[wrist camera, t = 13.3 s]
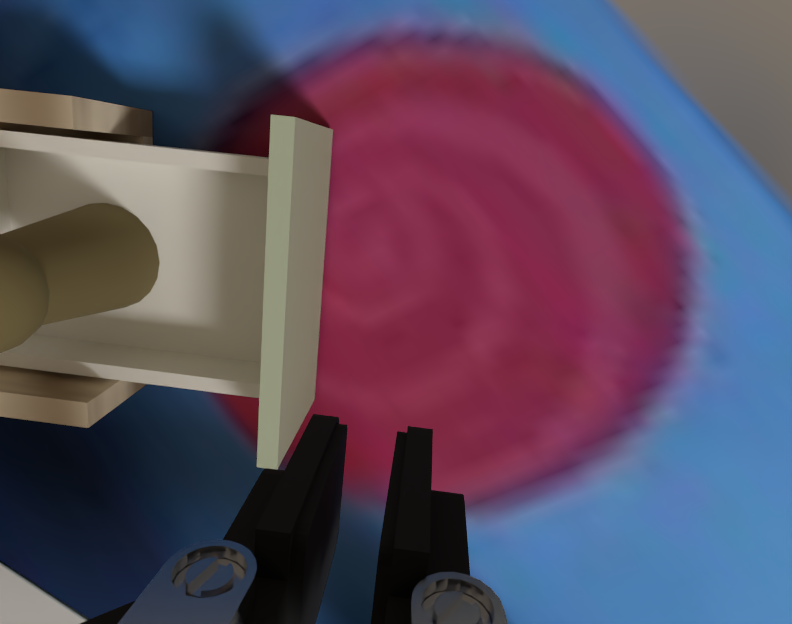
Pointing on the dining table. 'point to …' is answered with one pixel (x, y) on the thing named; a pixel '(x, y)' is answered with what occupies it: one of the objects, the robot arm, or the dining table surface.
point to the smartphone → (31, 602)
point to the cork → (73, 268)
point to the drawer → (193, 265)
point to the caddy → (45, 390)
